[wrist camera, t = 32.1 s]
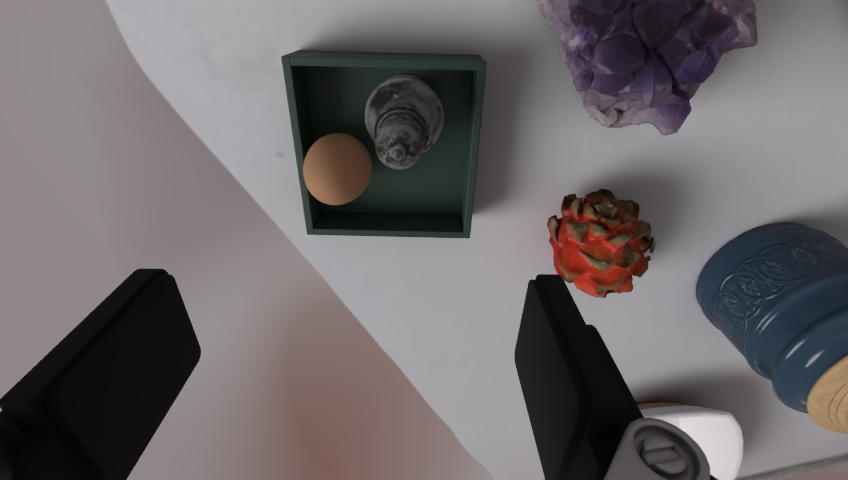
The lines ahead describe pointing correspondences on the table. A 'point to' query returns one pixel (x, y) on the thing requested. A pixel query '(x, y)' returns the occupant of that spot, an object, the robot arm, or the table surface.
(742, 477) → the table surface
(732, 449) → the bowl
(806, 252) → the canister
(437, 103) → the grey tall stone piece
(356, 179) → the egg
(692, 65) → the geode
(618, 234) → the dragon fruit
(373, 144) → the box
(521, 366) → the robot arm
